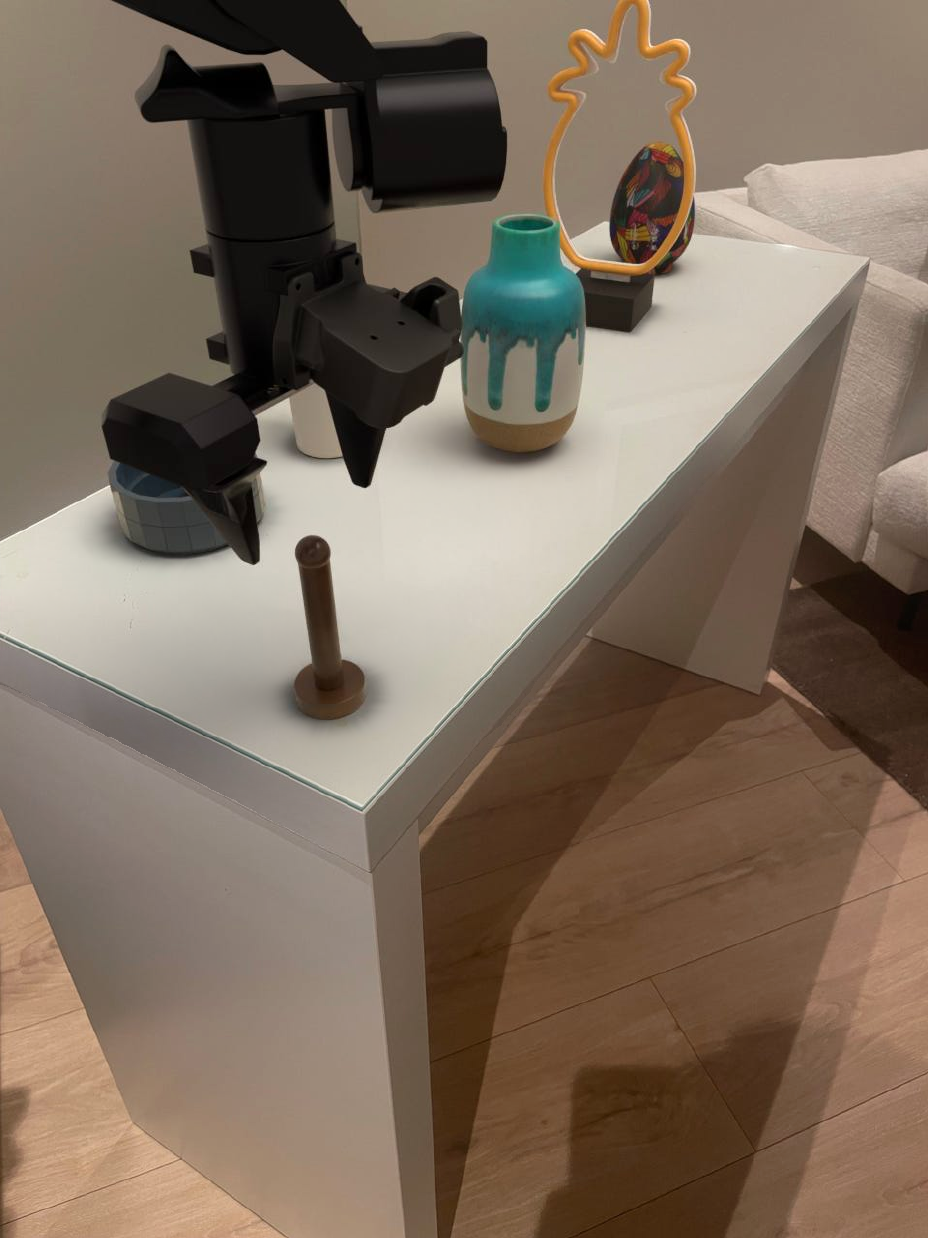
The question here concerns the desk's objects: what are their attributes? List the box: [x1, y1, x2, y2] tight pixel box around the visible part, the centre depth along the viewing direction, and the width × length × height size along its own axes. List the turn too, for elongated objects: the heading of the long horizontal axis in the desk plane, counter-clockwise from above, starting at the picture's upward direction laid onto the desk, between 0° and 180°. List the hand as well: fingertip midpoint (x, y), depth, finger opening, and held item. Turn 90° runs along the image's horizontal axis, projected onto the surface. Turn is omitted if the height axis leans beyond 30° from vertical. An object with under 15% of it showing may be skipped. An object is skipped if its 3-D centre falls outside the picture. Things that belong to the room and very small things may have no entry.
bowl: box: [107, 452, 266, 556], centre depth 75 cm, size 11×11×5 cm
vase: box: [459, 213, 587, 453], centre depth 81 cm, size 11×11×19 cm
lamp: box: [542, 0, 698, 333], centre depth 102 cm, size 17×9×32 cm, turn 66°
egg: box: [608, 141, 696, 276], centre depth 120 cm, size 11×11×15 cm
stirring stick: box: [293, 534, 367, 720], centre depth 56 cm, size 4×4×12 cm
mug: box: [288, 383, 343, 459], centre depth 84 cm, size 10×7×12 cm, turn 43°
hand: (309, 521), depth 52 cm, fingers open, 9 cm apart
